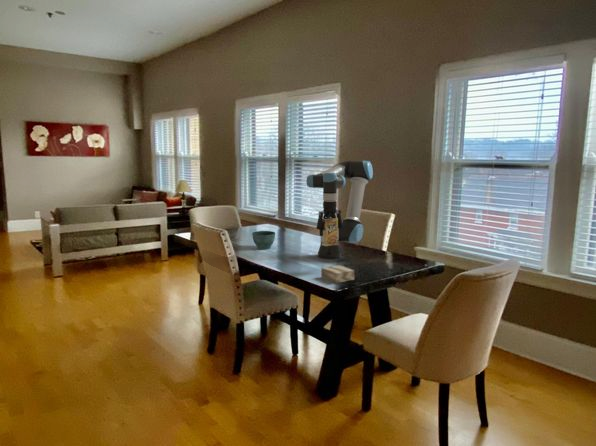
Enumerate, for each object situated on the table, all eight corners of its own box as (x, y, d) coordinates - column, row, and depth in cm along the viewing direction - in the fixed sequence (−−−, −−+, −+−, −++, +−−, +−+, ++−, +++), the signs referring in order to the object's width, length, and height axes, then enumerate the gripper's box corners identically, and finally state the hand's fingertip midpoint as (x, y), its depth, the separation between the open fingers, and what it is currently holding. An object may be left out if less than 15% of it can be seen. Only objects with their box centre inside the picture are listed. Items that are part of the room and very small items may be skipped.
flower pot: (278, 249, 300) (278, 234, 298) (255, 251, 295) (255, 235, 293) (271, 245, 315) (271, 230, 313) (249, 246, 310) (249, 231, 308)
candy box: (325, 246, 241) (326, 219, 238) (321, 245, 244) (321, 218, 241) (338, 244, 246) (338, 217, 243) (333, 243, 249) (333, 216, 246)
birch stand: (339, 273, 239) (339, 265, 238) (354, 279, 228) (354, 270, 227) (321, 277, 233) (321, 268, 232) (336, 283, 222) (336, 273, 221)
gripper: (341, 198, 249) (340, 237, 253) (309, 201, 238) (309, 241, 242) (349, 200, 243) (348, 239, 247) (317, 202, 232) (317, 244, 236)
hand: (329, 240), depth 244 cm, fingers closed on candy box, 9 cm apart
